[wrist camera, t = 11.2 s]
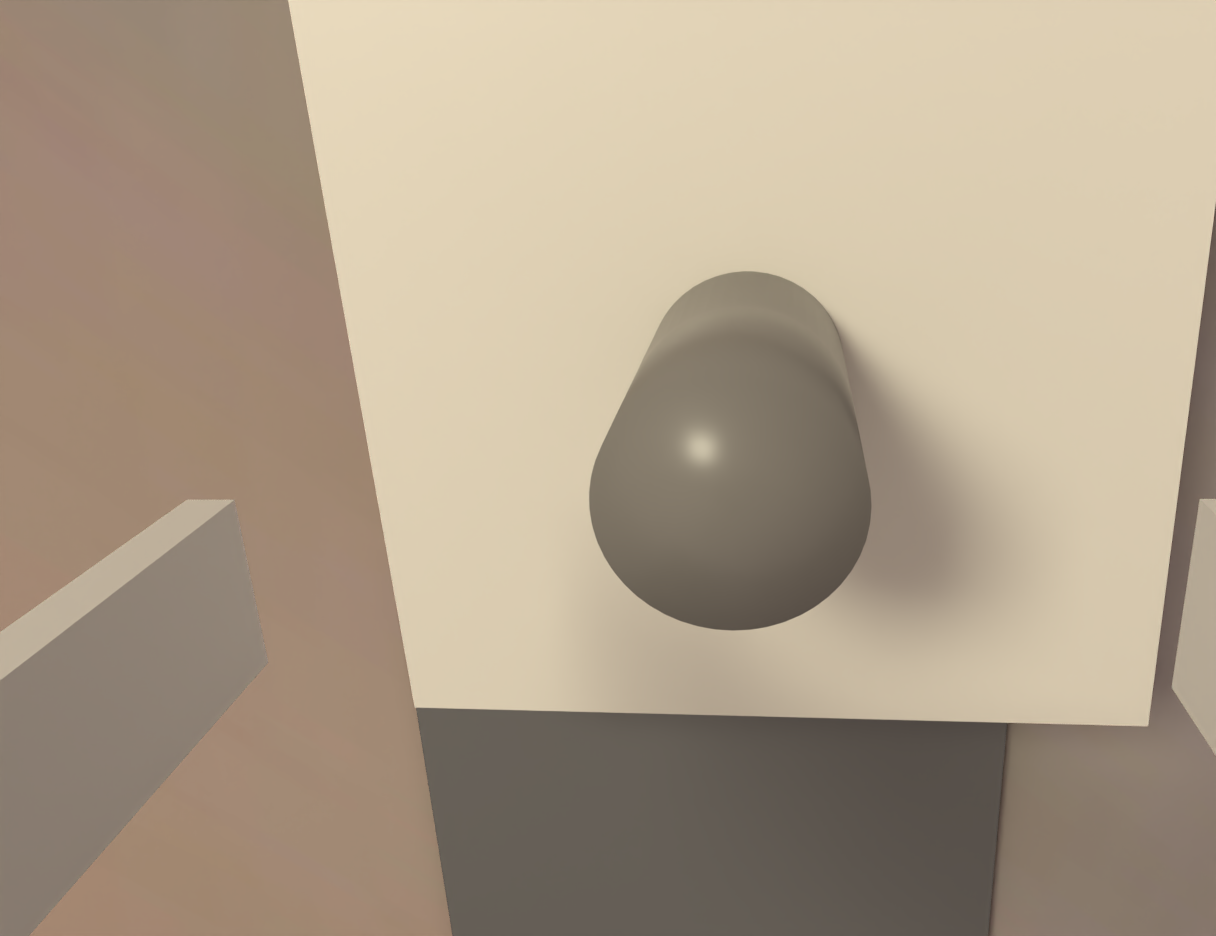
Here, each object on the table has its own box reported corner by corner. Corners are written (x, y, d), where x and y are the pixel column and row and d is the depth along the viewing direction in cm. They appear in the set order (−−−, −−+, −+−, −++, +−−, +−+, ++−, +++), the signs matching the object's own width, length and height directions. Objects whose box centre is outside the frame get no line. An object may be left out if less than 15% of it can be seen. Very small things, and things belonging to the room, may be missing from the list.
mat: (974, 1044, 40) (977, 1056, 40) (467, 997, 44) (464, 1008, 43) (1016, 573, 33) (1019, 580, 32) (399, 564, 36) (394, 570, 36)
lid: (1132, 698, 26) (1299, 1003, 18) (428, 683, 29) (285, 933, 21) (1235, -153, 19) (1587, -320, 11) (304, -43, 23) (17, -106, 14)
